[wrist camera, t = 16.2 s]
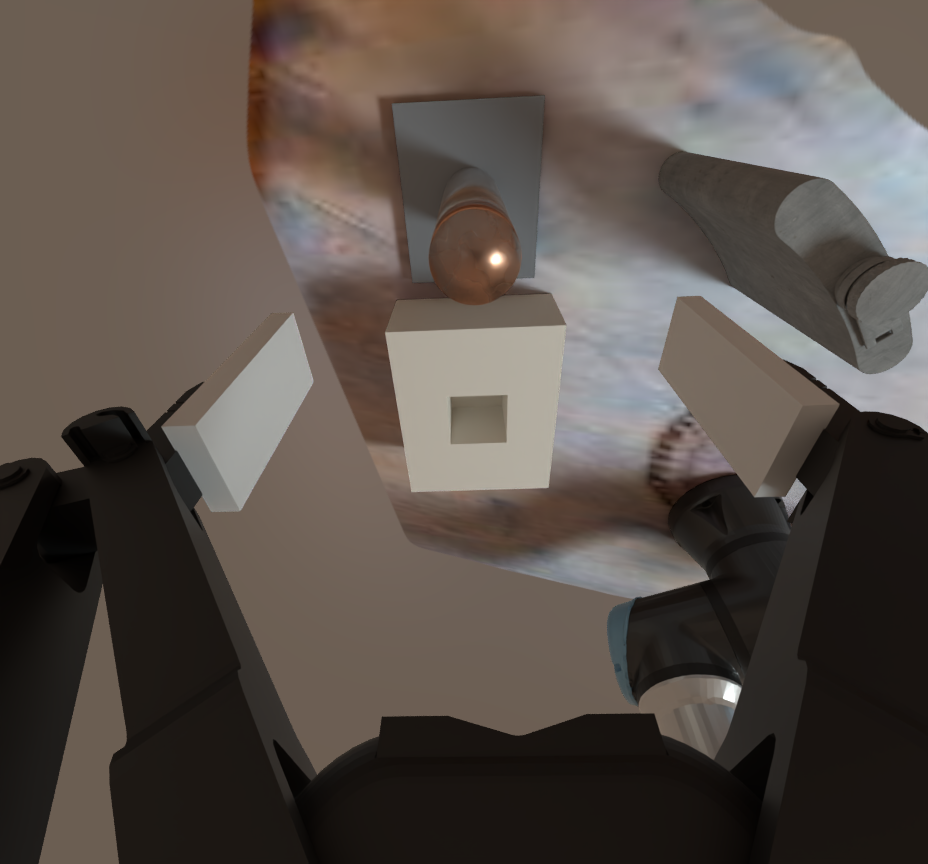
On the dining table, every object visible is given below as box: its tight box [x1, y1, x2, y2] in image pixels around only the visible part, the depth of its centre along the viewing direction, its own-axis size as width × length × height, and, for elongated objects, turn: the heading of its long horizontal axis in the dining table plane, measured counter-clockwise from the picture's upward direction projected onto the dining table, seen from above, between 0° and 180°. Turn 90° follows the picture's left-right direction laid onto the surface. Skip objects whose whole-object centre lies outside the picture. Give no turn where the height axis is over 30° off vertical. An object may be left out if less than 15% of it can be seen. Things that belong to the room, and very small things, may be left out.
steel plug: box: [429, 167, 522, 305], centre depth 30 cm, size 5×5×18 cm
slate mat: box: [392, 95, 545, 283], centre depth 38 cm, size 14×12×1 cm
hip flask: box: [659, 152, 928, 374], centre depth 31 cm, size 16×4×20 cm, turn 48°
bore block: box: [385, 294, 566, 492], centre depth 46 cm, size 20×16×8 cm
